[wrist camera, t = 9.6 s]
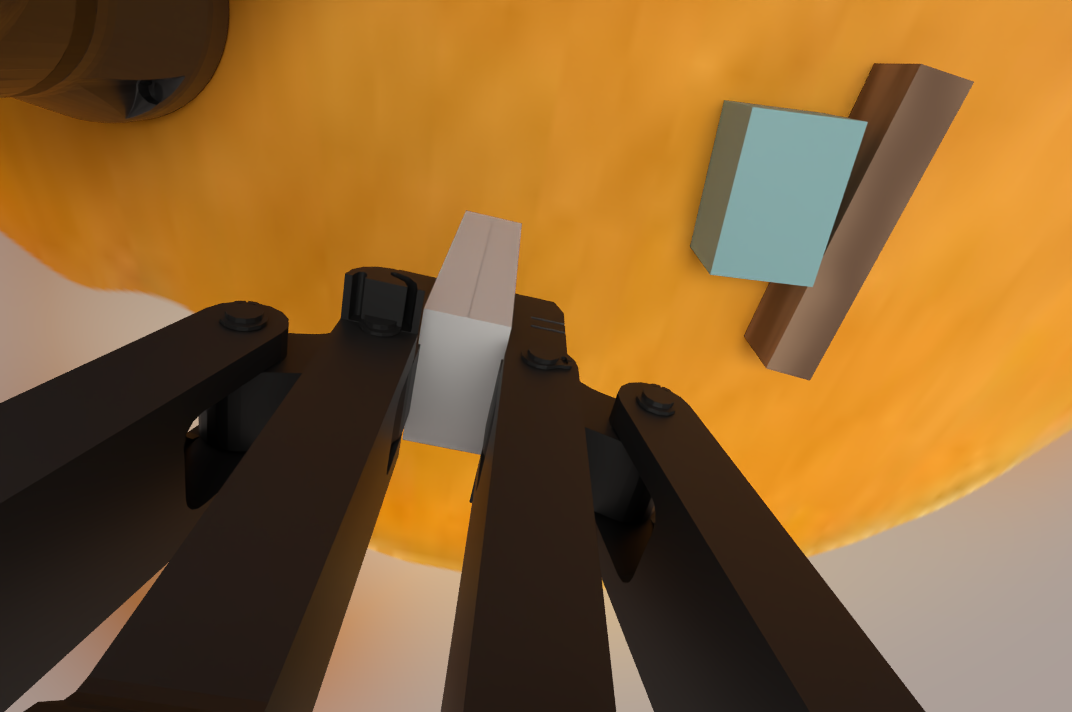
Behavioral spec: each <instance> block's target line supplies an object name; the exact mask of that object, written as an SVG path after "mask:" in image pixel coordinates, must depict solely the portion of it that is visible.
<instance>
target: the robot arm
mask: <svg viewBox="0 0 1072 712" xmlns="http://www.w3.org/2000/svg"><path fill="white" fill-rule="evenodd" d="M228 20H229V1H228V0H0V98H3V97H12V98H15V99H18V100H21V101H24V102H27V103H30V104H33V105H36V106H39V107H42V108H45V109H48V110H51V111H54V112H57V113H60V114H63V115H67V116H70V117H73V118H77V119H81V120H86V121H93V122H102V123H124V122H132V121H139V120H146V119H152V118H156V117H160V116H163V115H166V114H169V113H171V112H173V111H176V110H177V109H179V108H181V107H183V106H184V105H186V104H187V103H188V102H190V101H191V100H192V99H193V98H195V97H196V96H197V95H198V94H199V93H200V92H201V91H202V89H203V88H204V87H205V86H206V84H207V83H208V82H209V80H210V79H211V77H212V76H213V74H214V72H215V70H216V68H217V66H218V63H219V61H220V59H221V56H222V53H223V50H224V46H225V42H226V36H227V30H228ZM521 226H522V224H521V223H517V222H513V221H509V220H504V219H500V218H496V217H492V216H487V215H483V214H479V213H474V212H470V211H466V212H465V214H464V217H463V219H462V221H461V224H460V226H459V228H458V231H457V233H456V235H455V237H454V240H453V242H452V244H451V247H450V249H449V251H448V254H447V256H446V258H445V261H444V263H443V265H442V268H441V270H440V272H439V275H438V277H437V278H434V277H430V276H425V275H421V274H416V273H412V272H407V271H402V270H395V269H390V268H383V267H361V268H356V269H352V270H350V271H349V272H347V273H345V281H344V291H343V302H342V312H341V319H340V320H339V322H338V323H337V325H336V326H335V328H334V329H333V330H332V332H331V333H327V334H294V333H288V327H289V325H288V318H287V317H286V316H285V315H284V314H283V313H282V312H281V311H279V310H277V309H274V308H272V307H270V306H266V305H262V304H259V303H257V302H251V301H248V302H246V301H235V302H231V303H221V304H217V305H214V306H211V307H208V308H205V309H203V310H201V311H199V312H197V313H194V314H192V315H190V316H188V317H186V318H184V319H182V320H179V321H177V322H175V323H173V324H171V325H168V326H166V327H164V328H162V329H160V330H158V331H156V332H153V333H151V334H149V335H147V336H145V337H143V338H140V339H138V340H136V341H134V342H132V343H130V344H127V345H125V346H123V347H121V348H119V349H117V350H115V351H112V352H110V353H108V354H106V355H104V356H101V357H99V358H97V359H95V360H93V361H91V362H88V363H86V364H84V365H82V366H80V367H78V368H75V369H73V370H71V371H69V372H67V373H65V374H62V375H60V376H58V377H56V378H54V379H52V380H49V381H47V382H45V383H43V384H41V385H39V386H37V387H35V388H32V389H30V390H28V391H26V392H23V393H21V394H19V395H17V396H15V397H13V398H10V399H8V400H6V401H4V402H2V403H0V712H4V711H6V710H7V709H8V708H9V707H10V706H11V705H12V704H13V703H14V702H15V701H16V700H18V699H19V698H20V697H21V696H22V695H23V694H24V693H25V692H26V691H28V690H29V689H30V688H31V687H32V686H33V685H34V684H35V683H36V682H37V681H38V680H39V679H41V678H42V677H43V676H44V675H45V674H46V673H47V672H48V671H49V670H51V669H52V668H53V667H54V666H55V665H56V664H57V663H58V662H59V661H60V660H62V659H63V658H64V657H65V656H66V655H67V654H68V653H69V652H70V651H71V650H73V649H74V648H75V647H76V646H77V645H78V644H79V643H80V642H81V641H83V640H84V639H85V638H86V637H87V636H88V635H89V634H90V633H91V632H92V631H94V630H95V629H96V628H97V627H98V626H99V625H100V624H101V623H102V622H103V621H104V620H106V618H108V617H109V616H110V615H111V614H112V613H113V612H114V611H115V610H117V609H118V608H119V607H120V606H121V605H122V604H123V603H124V602H125V601H126V600H127V599H129V598H130V597H131V596H132V595H133V594H134V593H135V592H136V591H137V590H139V589H140V588H141V587H142V586H143V585H144V584H145V583H146V582H147V581H148V580H150V579H151V578H152V577H153V576H154V575H155V574H156V573H157V572H158V571H159V570H161V569H162V568H163V567H164V566H165V565H166V564H167V563H168V562H169V563H168V564H167V566H166V567H165V568H164V570H163V571H162V573H161V574H160V576H159V577H158V578H157V580H156V581H155V583H154V584H153V586H152V587H151V588H150V590H149V591H148V593H147V594H146V596H145V597H144V598H143V600H142V601H141V603H140V604H139V605H138V607H137V608H136V610H135V611H134V612H133V614H132V616H131V617H130V618H129V620H128V621H127V622H126V624H125V625H124V627H123V628H122V629H121V631H120V632H119V634H118V635H117V637H116V638H115V640H114V641H113V642H112V644H111V645H110V647H109V648H108V649H107V651H106V652H105V654H104V655H103V656H102V658H101V659H100V661H99V662H98V664H97V665H96V666H95V668H94V669H93V671H92V672H91V674H90V675H89V676H88V677H87V679H86V680H85V681H84V682H83V684H82V685H81V686H80V687H79V688H78V690H77V691H76V692H74V693H73V694H72V695H70V696H69V697H67V698H66V699H65V700H59V701H46V702H37V703H36V704H34V705H33V706H31V707H30V708H28V709H27V710H26V711H24V712H312V711H313V708H314V706H315V702H316V700H317V697H318V693H319V691H320V687H321V685H322V682H323V679H324V676H325V673H326V670H327V667H328V664H329V661H330V658H331V655H332V652H333V649H334V646H335V643H336V640H337V637H338V634H339V631H340V628H341V625H342V622H343V619H344V616H345V613H346V610H347V607H348V604H349V601H350V598H351V595H352V592H353V589H354V586H355V583H356V580H357V577H358V574H359V571H360V568H361V565H362V562H363V559H364V556H365V553H366V550H367V547H368V545H369V542H370V539H371V536H372V533H373V530H374V527H375V524H376V521H377V518H378V515H379V512H380V509H381V506H382V503H383V500H384V497H385V494H386V491H387V488H388V485H389V482H390V479H391V476H392V473H393V470H394V467H395V464H396V461H397V458H398V454H399V448H400V442H401V436H402V432H403V429H404V433H403V440H408V441H413V442H418V443H424V444H429V445H434V446H439V447H444V448H449V449H455V450H460V451H465V452H470V453H475V454H480V455H481V456H480V460H479V464H478V469H477V473H476V477H475V481H474V485H473V490H472V494H471V498H470V503H472V508H471V514H470V521H469V528H468V534H467V541H466V547H465V554H464V561H463V567H462V574H461V581H460V588H459V595H458V601H457V607H456V614H455V621H454V627H453V634H452V641H451V647H450V654H449V660H448V667H447V674H446V681H445V687H444V694H443V700H442V707H441V712H616V706H615V697H614V687H613V679H612V669H611V660H610V651H609V642H608V634H607V625H606V615H605V606H604V597H603V588H602V580H603V583H604V585H605V588H606V590H607V593H608V595H609V598H610V600H611V603H612V606H613V608H614V611H615V613H616V616H617V618H618V621H619V623H620V626H621V628H622V631H623V634H624V636H625V639H626V641H627V644H628V646H629V649H630V652H631V654H632V657H633V659H634V662H635V664H636V667H637V669H638V672H639V674H640V677H641V680H642V682H643V684H644V687H645V689H646V692H647V695H648V698H649V700H650V703H651V705H652V708H653V710H654V712H925V711H924V710H923V708H922V707H921V705H920V704H919V703H918V702H917V700H916V699H915V698H914V696H913V695H912V694H911V693H910V691H909V690H908V689H907V687H906V686H905V685H904V683H903V682H902V681H901V679H900V678H899V677H898V676H897V674H896V673H895V672H894V670H893V669H892V668H891V666H890V665H889V664H888V663H887V661H886V660H885V659H884V658H883V656H882V655H881V654H880V652H879V651H878V650H877V648H876V647H875V646H874V644H873V643H872V642H871V641H870V639H869V638H868V637H867V635H866V634H865V633H864V631H863V630H862V629H861V628H860V626H859V625H858V624H857V622H856V621H855V620H854V619H853V617H852V616H851V615H850V613H849V612H848V611H847V609H846V608H845V607H844V605H843V604H842V603H841V602H840V601H839V599H838V598H837V596H836V595H835V594H834V592H833V591H832V590H831V589H830V587H829V586H828V585H827V584H826V582H825V581H824V580H823V578H822V577H821V576H820V574H819V573H818V572H817V570H816V569H815V568H814V567H813V565H812V564H811V563H810V561H809V560H808V559H807V557H806V556H805V555H804V553H803V552H802V551H801V550H800V548H799V547H798V546H797V544H796V543H795V542H794V541H793V539H792V538H791V537H790V535H789V534H788V533H787V531H786V530H785V529H784V528H783V526H782V525H781V524H780V522H779V521H778V520H777V518H776V517H775V516H774V515H773V513H772V512H771V511H770V509H769V508H768V507H767V505H766V504H765V503H764V502H763V500H762V499H761V498H760V496H759V495H758V494H757V492H756V491H755V490H754V489H753V487H752V486H751V485H750V483H749V482H748V481H747V479H746V478H745V477H744V476H743V474H742V473H741V472H740V470H739V469H738V468H737V466H736V465H735V464H734V463H733V461H732V460H731V459H730V457H729V456H728V455H727V453H726V452H725V451H724V450H723V448H722V447H721V446H720V444H719V443H718V442H717V440H716V439H715V438H714V437H713V435H712V434H711V433H710V431H709V430H708V429H707V428H706V426H705V425H704V424H703V422H702V421H701V420H700V418H699V417H698V416H697V415H696V413H695V412H694V411H693V409H692V408H691V407H690V406H689V405H688V404H687V403H686V402H685V401H684V400H683V399H682V398H681V397H679V396H678V395H676V394H674V393H673V392H671V391H670V390H669V389H667V388H665V387H660V386H659V385H656V384H647V383H642V382H640V383H628V384H626V385H623V386H621V388H620V390H619V392H618V394H617V397H616V398H613V397H611V396H608V395H605V394H603V393H600V392H598V391H596V390H594V389H591V388H589V387H588V386H586V385H585V384H583V383H581V382H580V380H579V371H578V367H577V364H576V362H575V361H574V360H573V359H572V358H571V357H570V356H569V355H568V354H567V347H566V335H565V326H564V313H563V312H562V311H561V310H560V309H559V307H558V306H557V305H556V304H555V303H554V302H550V301H546V300H541V299H537V298H532V297H528V296H523V295H519V294H515V287H516V277H517V267H518V257H519V247H520V237H521ZM198 416H199V425H198V426H196V427H195V428H193V429H192V430H191V431H189V432H188V430H189V428H190V426H191V425H192V423H193V421H194V420H195V419H196V418H197V417H198ZM404 426H405V427H404ZM601 577H602V579H601Z"/></svg>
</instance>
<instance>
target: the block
mask: <svg viewBox="0 0 1072 712" xmlns="http://www.w3.org/2000/svg"><path fill="white" fill-rule="evenodd" d="M867 123H868V122H866V121H861V120H856V119H850V118H845V117H840V116H835V115H830V114H825V113H819V112H811V111H803V110H796V109H788V108H780V107H773V106H765V105H757V104H750V103H742V102H734V101H726V100H724V103H723V108H722V112H721V116H720V121H719V125H718V129H717V133H716V138H715V142H714V146H713V151H712V155H711V159H710V163H709V168H708V172H707V176H706V181H705V185H704V189H703V193H702V198H701V202H700V206H699V211H698V215H697V219H696V223H695V228H694V232H693V236H692V241H691V245H690V247H691V249H692V250H693V251H694V253H695V254H696V255H697V257H698V258H699V260H700V261H701V262H702V264H703V265H704V267H705V268H706V269H707V271H708V272H709V274H710V275H718V276H726V277H734V278H742V279H750V280H758V281H766V282H775V283H783V284H791V285H799V286H807V287H813V285H814V282H815V279H816V276H817V273H818V270H819V267H820V264H821V261H822V258H823V255H824V252H825V249H826V246H827V243H828V240H829V237H830V234H831V231H832V228H833V225H834V222H835V219H836V216H837V213H838V210H839V207H840V204H841V201H842V198H843V195H844V192H845V189H846V186H847V183H848V180H849V177H850V174H851V171H852V168H853V165H854V162H855V159H856V156H857V153H858V150H859V147H860V144H861V141H862V138H863V135H864V132H865V129H866V126H867Z"/></svg>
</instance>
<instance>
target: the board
mask: <svg viewBox="0 0 1072 712" xmlns="http://www.w3.org/2000/svg"><path fill="white" fill-rule="evenodd" d="M973 83H974V82H973V81H970V80H967V79H964V78H961V77H958V76H955V75H952V74H949V73H946V72H943V71H940V70H937V69H934V68H932V67H929V66H926V65H923V64H874V66H873V68H872V70H871V72H870V74H869V76H868V78H867V80H866V82H865V84H864V86H863V89H862V91H861V93H860V95H859V97H858V99H857V101H856V103H855V105H854V107H853V109H852V112H851V114H850V116H849V118H850V119H856V120H861V121H866V122H868V123H867V126H866V129H865V132H864V135H863V138H862V141H861V144H860V147H859V150H858V153H857V156H856V159H855V162H854V165H853V168H852V171H851V174H850V177H849V180H848V183H847V186H846V189H845V192H844V195H843V198H842V201H841V204H840V207H839V210H838V213H837V216H836V219H835V222H834V225H833V228H832V231H831V234H830V237H829V240H828V243H827V246H826V249H825V252H824V255H823V258H822V261H821V264H820V267H819V270H818V273H817V276H816V279H815V282H814V285H813V287H807V286H799V285H791V284H783V283H775V282H770V283H769V285H768V287H767V289H766V291H765V293H764V295H763V298H762V300H761V302H760V304H759V306H758V308H757V310H756V312H755V314H754V316H753V318H752V321H751V323H750V325H749V327H748V329H747V331H746V333H745V335H744V337H745V338H746V340H747V341H748V343H749V344H750V346H751V347H752V348H753V350H754V351H755V353H756V354H757V356H758V357H759V359H760V360H761V362H762V363H763V364H764V366H765V367H766V368H767V369H770V370H774V371H778V372H781V373H785V374H788V375H792V376H796V377H799V378H803V379H806V380H810V379H811V377H812V376H813V374H814V372H815V370H816V368H817V367H818V365H819V363H820V361H821V359H822V358H823V356H824V354H825V352H826V350H827V348H828V347H829V345H830V343H831V341H832V339H833V338H834V336H835V334H836V332H837V330H838V328H839V327H840V325H841V323H842V321H843V319H844V318H845V316H846V314H847V312H848V310H849V308H850V307H851V305H852V303H853V301H854V299H855V298H856V296H857V294H858V292H859V290H860V288H861V287H862V285H863V283H864V281H865V279H866V278H867V276H868V274H869V272H870V270H871V268H872V267H873V265H874V263H875V261H876V259H877V258H878V256H879V254H880V252H881V250H882V248H883V247H884V245H885V243H886V241H887V239H888V238H889V236H890V234H891V232H892V230H893V228H894V227H895V225H896V223H897V221H898V219H899V218H900V216H901V214H902V212H903V210H904V208H905V207H906V205H907V203H908V201H909V199H910V198H911V196H912V194H913V192H914V190H915V188H916V187H917V185H918V183H919V181H920V179H921V178H922V176H923V174H924V172H925V170H926V168H927V167H928V165H929V163H930V161H931V159H932V158H933V156H934V154H935V152H936V150H937V148H938V147H939V145H940V143H941V141H942V139H943V138H944V136H945V134H946V132H947V130H948V129H949V127H950V125H951V123H952V121H953V119H954V118H955V116H956V114H957V112H958V110H959V109H960V107H961V105H962V103H963V101H964V99H965V98H966V96H967V94H968V92H969V90H970V89H971V87H972V85H973Z"/></svg>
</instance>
